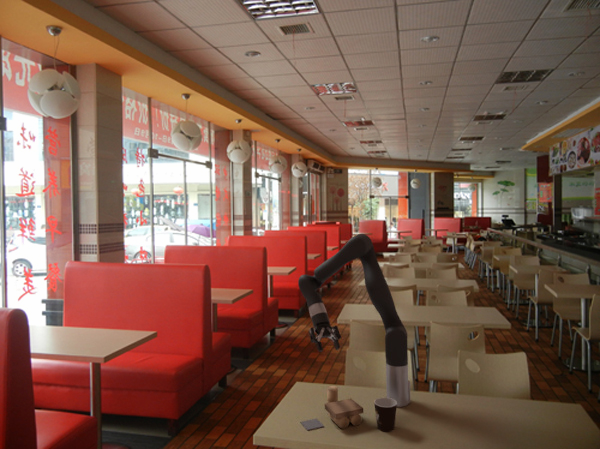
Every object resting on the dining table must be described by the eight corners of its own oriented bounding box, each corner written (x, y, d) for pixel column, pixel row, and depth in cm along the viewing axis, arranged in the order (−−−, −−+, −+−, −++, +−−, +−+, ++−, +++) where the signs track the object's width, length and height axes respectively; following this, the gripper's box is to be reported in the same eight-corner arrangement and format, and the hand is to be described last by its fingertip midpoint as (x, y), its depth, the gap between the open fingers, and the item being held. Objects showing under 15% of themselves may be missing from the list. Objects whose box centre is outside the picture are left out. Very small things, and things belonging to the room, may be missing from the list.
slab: (351, 413, 191) (351, 398, 191) (363, 424, 182) (363, 408, 182) (324, 419, 187) (324, 403, 186) (336, 430, 177) (335, 414, 177)
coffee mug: (397, 434, 173) (397, 407, 173) (374, 432, 175) (373, 406, 175) (397, 420, 185) (396, 395, 184) (375, 418, 186) (374, 393, 186)
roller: (335, 408, 196) (334, 385, 196) (340, 412, 192) (339, 389, 192) (325, 410, 195) (325, 387, 194) (330, 414, 191) (329, 390, 190)
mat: (316, 419, 187) (316, 418, 187) (324, 426, 180) (323, 425, 180) (300, 422, 184) (300, 421, 184) (307, 430, 178) (307, 429, 178)
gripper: (309, 312, 201) (319, 348, 193) (336, 310, 208) (347, 345, 200) (301, 320, 206) (311, 355, 198) (328, 318, 213) (339, 352, 205)
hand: (329, 350), depth 199 cm, fingers open, 8 cm apart
